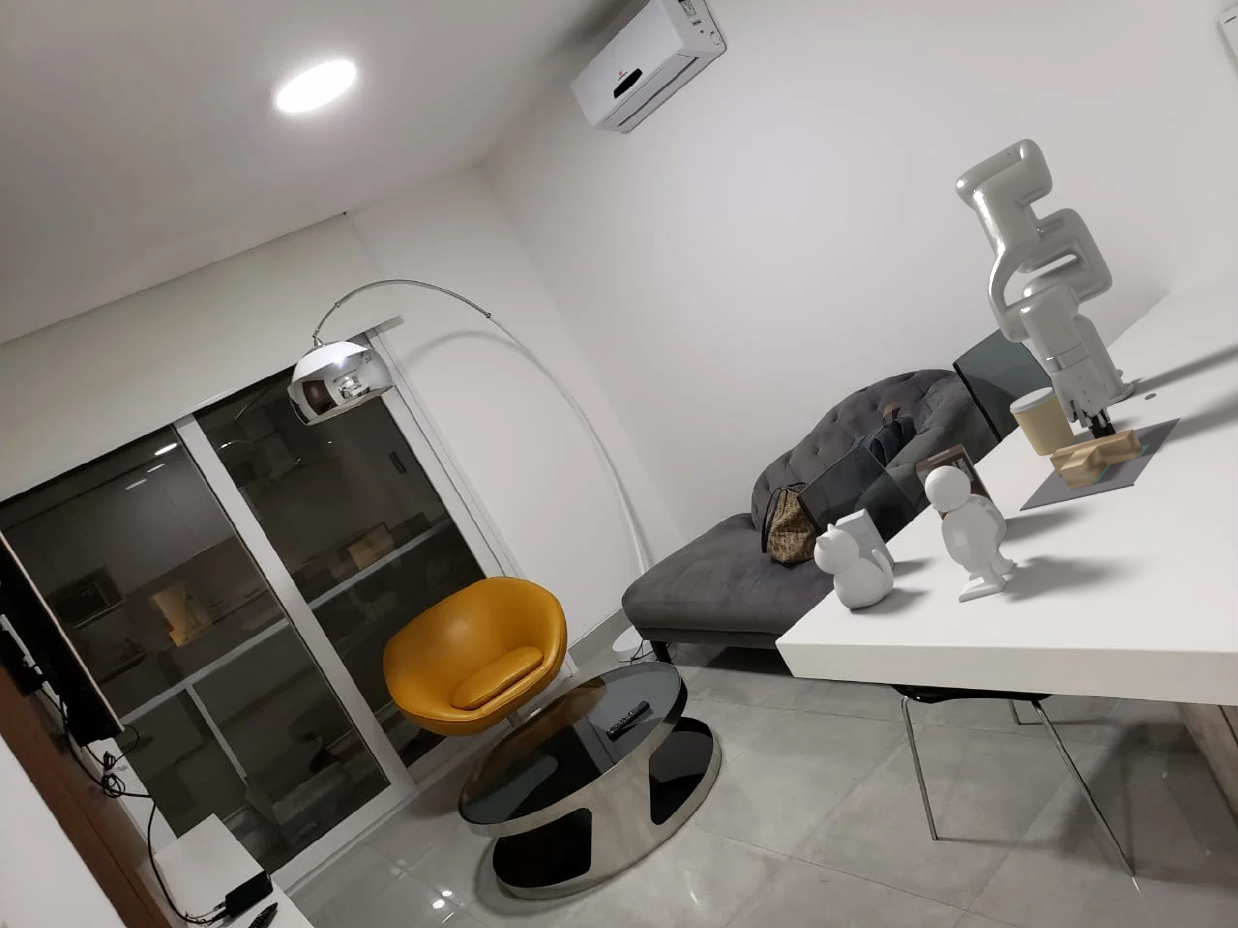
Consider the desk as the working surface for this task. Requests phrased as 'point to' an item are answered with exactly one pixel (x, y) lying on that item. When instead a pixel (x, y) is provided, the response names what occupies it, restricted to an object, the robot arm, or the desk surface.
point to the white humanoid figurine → (970, 531)
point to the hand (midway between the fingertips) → (1110, 444)
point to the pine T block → (1094, 457)
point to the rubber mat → (1112, 479)
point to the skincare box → (865, 536)
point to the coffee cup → (1043, 421)
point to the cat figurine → (852, 569)
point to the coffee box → (958, 460)
